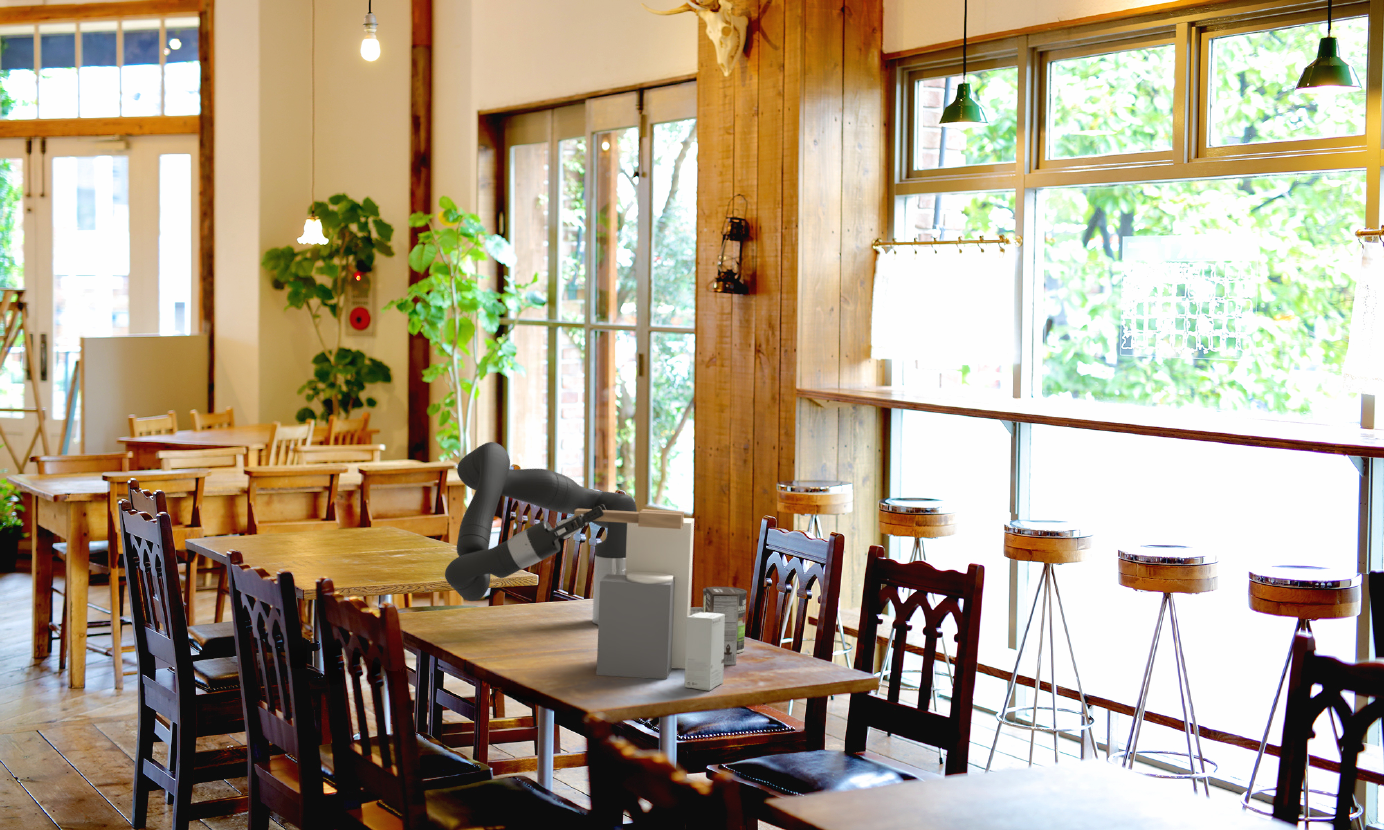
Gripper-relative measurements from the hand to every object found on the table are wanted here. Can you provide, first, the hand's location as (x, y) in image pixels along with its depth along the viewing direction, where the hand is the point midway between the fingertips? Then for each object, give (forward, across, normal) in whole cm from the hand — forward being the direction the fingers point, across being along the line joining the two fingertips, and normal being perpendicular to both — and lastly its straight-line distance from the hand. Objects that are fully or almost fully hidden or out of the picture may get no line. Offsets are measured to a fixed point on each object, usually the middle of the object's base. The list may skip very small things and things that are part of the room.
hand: (603, 509), depth 280 cm
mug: (0, +40, +40) cm, 56 cm away
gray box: (-10, 0, +34) cm, 36 cm away
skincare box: (+3, -8, +42) cm, 43 cm away
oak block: (+3, 0, +5) cm, 6 cm away
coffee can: (+5, +28, +43) cm, 51 cm away
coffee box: (+5, +16, +43) cm, 46 cm away
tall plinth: (-7, +10, +36) cm, 38 cm away
